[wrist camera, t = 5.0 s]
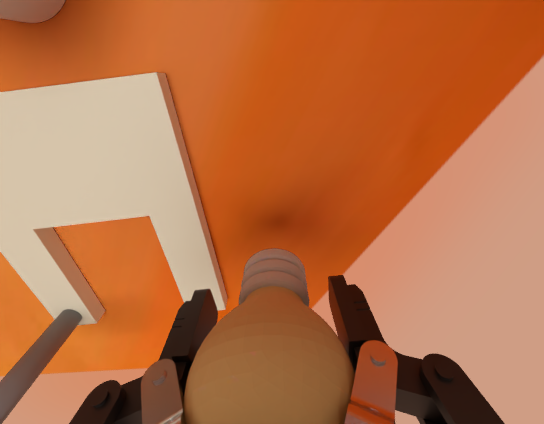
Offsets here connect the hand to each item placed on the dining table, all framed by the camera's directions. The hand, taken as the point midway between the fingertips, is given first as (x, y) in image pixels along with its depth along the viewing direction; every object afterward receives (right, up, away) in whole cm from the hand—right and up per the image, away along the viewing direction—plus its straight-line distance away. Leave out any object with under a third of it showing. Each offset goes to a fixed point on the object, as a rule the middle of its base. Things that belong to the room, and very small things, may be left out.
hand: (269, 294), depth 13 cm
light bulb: (0, +1, +3) cm, 3 cm away
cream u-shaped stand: (-15, +3, +9) cm, 18 cm away
